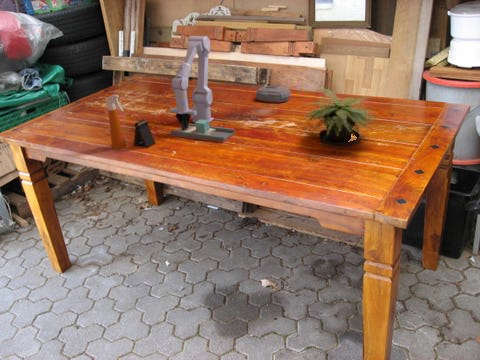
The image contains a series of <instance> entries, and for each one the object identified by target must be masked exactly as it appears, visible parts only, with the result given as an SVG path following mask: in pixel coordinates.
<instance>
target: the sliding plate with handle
mask: <svg viewBox="0 0 480 360" xmlns="http://www.w3.org/2000/svg"><path fill="white" fill-rule="evenodd" d="M180 128H182V129H181V130H180V131H182V132H190V133H198V132H196V127H195V126H188V128H185V125H184V120H183V121H181V125H180ZM215 131H216V129H212V128H210V130H209V131H207V132H206V133H198V134H206V135H211V134H213V133H214V132H215Z"/></svg>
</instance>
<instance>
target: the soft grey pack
mask: <svg viewBox="0 0 480 360" xmlns="http://www.w3.org/2000/svg"><path fill="white" fill-rule="evenodd" d="M255 96H256V99H257V101H260V102H265V103H275V104H276V103H285V102H288V101H289V100H290V97H291V91H290V90H289V89H288V88H286V87H284V86H279V85H271V84H270V85H269V84H268V85H266V86H265V85H264V86H261V87H259V88H258V89H257V90H256V95H255Z"/></svg>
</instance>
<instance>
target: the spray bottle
mask: <svg viewBox="0 0 480 360" xmlns="http://www.w3.org/2000/svg"><path fill="white" fill-rule="evenodd" d="M119 97H120V96H119V94H112V95H110V96H107V97H106V98H105V99H104V101H105V102H106V103H107V111H108V121H109V129H110V130H109V131H110V140H111V147H112V149H114V150H121V149H124V148H126V147H127V145H128V144H127V141H126V137H125V134H124V131H123V128H122V123H121V119H120V117H119V114H118V111H117V108H118V109H119V110H120V111H121V112H124V109H123V107H122V105H120V102H119V99H118V98H119Z"/></svg>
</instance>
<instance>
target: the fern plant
mask: <svg viewBox="0 0 480 360" xmlns="http://www.w3.org/2000/svg"><path fill="white" fill-rule="evenodd" d="M317 87H318V88H320V90H321V91H322V93H324V96H318V97H317V99H325V100H326V101H327V100H328V101H330V103H326V102H321V101H317V102H315V101H314V102H311V103H310V102H309V103H305V106H306V105H317V106H316V108H313V109H312V110H310V111H309V112H306V113H304V114H303V115H305V116H303V117H301V118H303V120H304V119H306V118H308V117H309V119H307V120H306V121H305V122H304V124H306V123H309V122H310V121H314V120H315V121H316V120H317V119H318V121H317V123H315V127H314V128H313V130H312V132H313V131H315V130H316V129H317V128H320V127H321V126H323V128H322V130H321V131H320V132H319V133H318V139H319V142H321V143H322V144H324V145H327V146H331V147H337V146H338V147H349V146H348V145H350V146H352V144H353V145H355V144H354V143H356V142H357V141H358V142H359V141H360V136H362V134H363V133H361V130H360V128H361V129H363V130H365V128H364V127H366V128H367V129H369V130H370V131H372V132H374V130H373V129H372V127H371V126H370V125H369V124H368V123H371V124H375V125H376V126H378V124H377V123H375V121H379V119H378V118H377V117H376V116H374V115H372V114H371V113H373V114H377V111H373V110H371V109H367V108H366V109H364V108H362V107H356V104H360V103H362V102H365V100H366V99H369V98H370V96H361V97H357V98H355V97H353V96H351V97H345V98H344V97H343V98H342V100H341V101H340V97H338V95H336V93H335V92H334V91H331V90H330V89H327V88H325V87H323V86H322V87H320V86H317ZM373 97H375V95H372V98H373ZM367 122H368V123H367ZM351 134H353V136H354V135H355V136H356V137H357V139H356V140H353V141H350V142H348V141H349V140H350V139H351ZM358 142H357V143H358ZM357 143H356V144H357Z"/></svg>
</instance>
